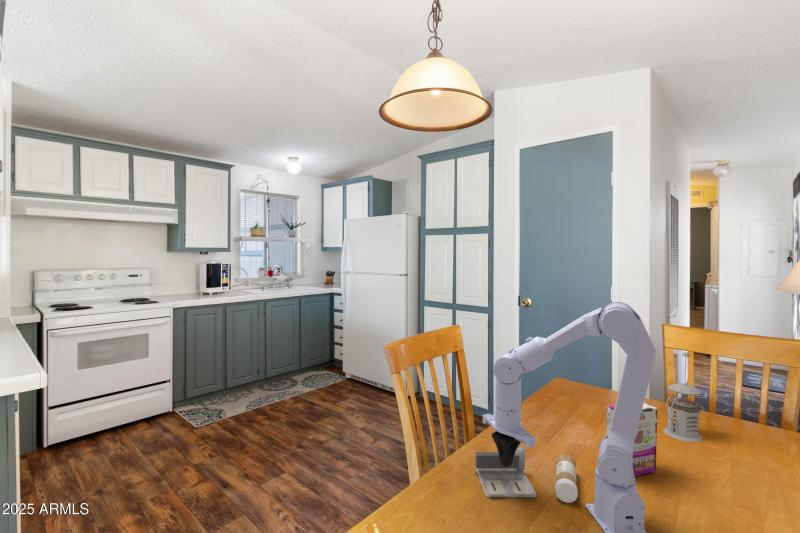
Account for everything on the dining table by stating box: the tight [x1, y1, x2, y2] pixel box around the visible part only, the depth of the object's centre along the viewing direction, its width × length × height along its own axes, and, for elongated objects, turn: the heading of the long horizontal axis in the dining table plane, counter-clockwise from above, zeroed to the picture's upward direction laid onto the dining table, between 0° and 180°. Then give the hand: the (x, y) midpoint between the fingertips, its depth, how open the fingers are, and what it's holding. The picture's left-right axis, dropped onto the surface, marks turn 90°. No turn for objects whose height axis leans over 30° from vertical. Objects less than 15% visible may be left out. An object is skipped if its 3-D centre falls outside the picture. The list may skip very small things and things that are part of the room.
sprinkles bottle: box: [554, 454, 579, 504], centre depth 94 cm, size 5×5×13 cm
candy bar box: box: [606, 401, 658, 477], centre depth 100 cm, size 11×5×16 cm, turn 105°
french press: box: [662, 351, 704, 443], centre depth 120 cm, size 10×12×25 cm
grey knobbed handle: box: [474, 446, 527, 471], centre depth 99 cm, size 2×12×5 cm, turn 91°
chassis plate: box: [475, 467, 537, 498], centre depth 95 cm, size 12×11×1 cm
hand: (506, 464), depth 93 cm, fingers closed
